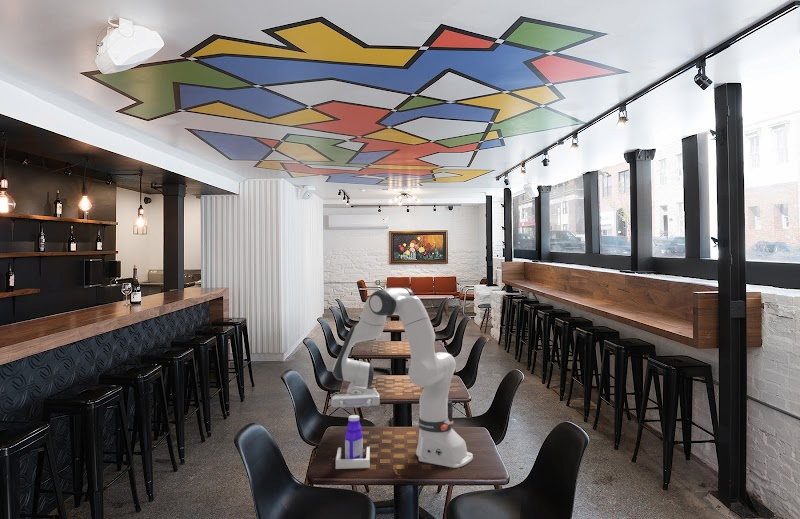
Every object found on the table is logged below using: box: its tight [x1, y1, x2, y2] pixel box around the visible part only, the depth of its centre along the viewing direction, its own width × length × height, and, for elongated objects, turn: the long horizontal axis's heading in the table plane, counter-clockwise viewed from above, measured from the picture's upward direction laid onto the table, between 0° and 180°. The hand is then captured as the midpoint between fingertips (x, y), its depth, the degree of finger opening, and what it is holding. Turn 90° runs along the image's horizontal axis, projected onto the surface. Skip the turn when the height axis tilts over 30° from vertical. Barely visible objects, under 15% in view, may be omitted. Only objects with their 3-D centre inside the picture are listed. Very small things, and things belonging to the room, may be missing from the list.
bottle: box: [344, 414, 364, 459], centre depth 182 cm, size 7×6×17 cm
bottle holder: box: [335, 446, 371, 470], centre depth 183 cm, size 12×12×3 cm
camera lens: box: [448, 398, 454, 428], centre depth 210 cm, size 8×8×15 cm
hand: (354, 405), depth 194 cm, fingers open, 8 cm apart
